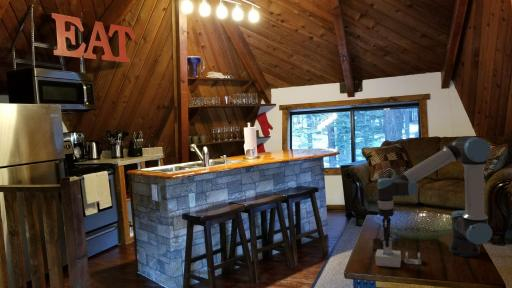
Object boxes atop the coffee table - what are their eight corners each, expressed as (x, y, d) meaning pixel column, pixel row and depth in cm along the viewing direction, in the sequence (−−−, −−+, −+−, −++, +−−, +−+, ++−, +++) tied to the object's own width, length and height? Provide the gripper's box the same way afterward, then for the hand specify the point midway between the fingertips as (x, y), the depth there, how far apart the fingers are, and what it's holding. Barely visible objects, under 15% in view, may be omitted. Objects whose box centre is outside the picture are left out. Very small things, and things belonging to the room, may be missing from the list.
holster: (421, 261, 210) (420, 252, 210) (421, 266, 205) (420, 256, 205) (405, 260, 214) (404, 251, 213) (404, 264, 208) (404, 255, 208)
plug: (391, 253, 210) (391, 237, 210) (391, 255, 208) (391, 238, 207) (384, 252, 212) (383, 236, 211) (383, 254, 209) (383, 238, 208)
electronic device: (388, 254, 224) (387, 241, 224) (372, 251, 231) (371, 238, 231) (391, 252, 227) (391, 239, 227) (376, 249, 234) (375, 236, 234)
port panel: (401, 261, 212) (400, 250, 212) (400, 269, 203) (399, 256, 203) (377, 260, 217) (377, 248, 217) (375, 267, 208) (375, 255, 207)
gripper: (380, 204, 217) (381, 245, 218) (376, 211, 202) (379, 256, 204) (394, 204, 214) (396, 246, 216) (392, 212, 199) (394, 257, 201)
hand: (387, 251), depth 210 cm, fingers closed on plug, 3 cm apart
